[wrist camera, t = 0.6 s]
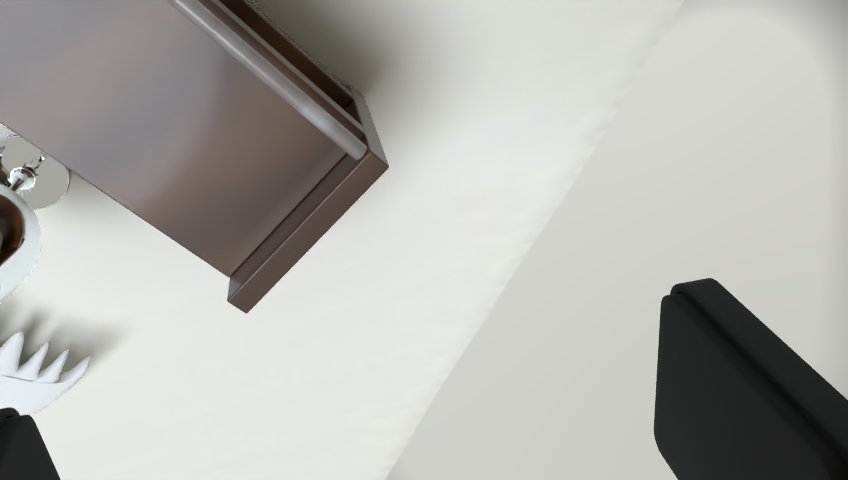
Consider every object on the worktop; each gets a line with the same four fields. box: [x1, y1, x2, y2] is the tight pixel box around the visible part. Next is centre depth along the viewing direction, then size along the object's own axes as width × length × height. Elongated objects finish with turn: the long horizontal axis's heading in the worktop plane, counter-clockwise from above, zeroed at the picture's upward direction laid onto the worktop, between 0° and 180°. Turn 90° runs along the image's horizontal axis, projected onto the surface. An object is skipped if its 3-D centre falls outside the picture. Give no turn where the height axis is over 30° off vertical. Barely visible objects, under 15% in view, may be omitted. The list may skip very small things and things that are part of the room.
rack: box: [0, 0, 389, 313], centre depth 35 cm, size 18×10×11 cm, turn 45°
